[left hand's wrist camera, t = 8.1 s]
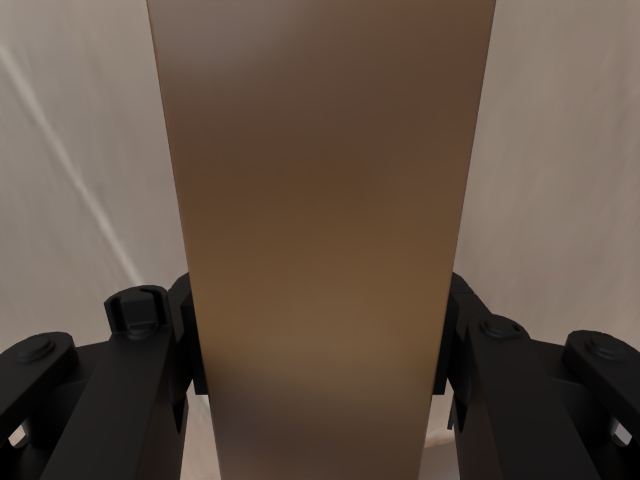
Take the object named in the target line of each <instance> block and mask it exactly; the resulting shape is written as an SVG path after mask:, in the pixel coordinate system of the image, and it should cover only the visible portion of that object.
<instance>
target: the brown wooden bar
mask: <svg viewBox="0 0 640 480" xmlns="http://www.w3.org/2000/svg"><path fill="white" fill-rule="evenodd" d="M146 1H147V8H148V14H149V21H150V27H151V33H152V40H153V46H154V53H155V59H156V65H157V72H158V78H159V85H160V91H161V97H162V104H163V110H164V117H165V123H166V129H167V136H168V142H169V149H170V155H171V161H172V168H173V174H174V180H175V187H176V193H177V200H178V206H179V212H180V219H181V225H182V232H183V238H184V244H185V251H186V257H187V264H188V270H189V276H190V283H191V289H192V296H193V302H194V308H195V315H196V321H197V328H198V334H199V340H200V347H201V353H202V360H203V366H204V372H205V379H206V385H207V392H208V398H209V404H210V411H211V417H212V424H213V430H214V436H215V443H216V449H217V456H218V462H219V468H220V475H221V480H419V475H420V469H421V463H422V456H423V450H424V444H425V438H426V432H427V425H428V419H429V413H430V407H431V401H432V395H433V388H434V382H435V376H436V370H437V364H438V357H439V351H440V345H441V339H442V333H443V326H444V320H445V314H446V308H447V302H448V295H449V289H450V283H451V277H452V271H453V264H454V258H455V252H456V246H457V240H458V233H459V227H460V221H461V215H462V209H463V203H464V196H465V190H466V184H467V178H468V172H469V165H470V159H471V153H472V147H473V141H474V134H475V128H476V122H477V116H478V110H479V103H480V97H481V91H482V85H483V79H484V72H485V66H486V60H487V54H488V48H489V42H490V35H491V29H492V23H493V17H494V11H495V4H496V0H146Z"/></svg>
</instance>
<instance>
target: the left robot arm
mask: <svg viewBox="0 0 640 480" xmlns="http://www.w3.org/2000/svg"><path fill="white" fill-rule="evenodd" d="M104 306H105V310H106V314H107V317H108V321H109V325H110V328H111V332H112V335H111V337H110V339H109V341H105V342H101V343H96V344H91V345H85V346H80V347H75V344H74V341H73V338H72V336H71V335H69V334H68V333H65V332H49V333H41V334H38V335H34V336H31V337H28V338H27V339H25V340H23V341H21V342H18V343H16V344H15V345H13V346H12V347H10V348H9V349H7V350H5V351H4V352H3V353H1V354H0V480H180V474H181V466H182V458H183V450H184V442H185V433H186V425H187V417H188V409H189V406H188V399H187V394H186V392H187V390H188V388H189V385H190V383H191V381H192V379H193V383H194V389H195V394H196V395H208V392H207V385H206V379H205V372H204V366H203V360H202V353H201V347H200V340H199V334H198V328H197V321H196V315H195V308H194V302H193V296H192V289H191V283H190V276H189V272H188V273H186V274H185V275H183V276H181V277H180V278H178V279H177V281H176V282H175V283H174V284H173V285H172V288H170V289H169V290H168V291H167V290H166V289H164V288H163V287H160V286H156V285H142V286H137V287H131V288H128V289H125V290H123V291H120V292H118V293H116V294H114V295H112V296H111V297H109V298H108V299H107V300H106V301H105V302H104ZM447 378H448V380H449V382H450V384H451V386H452V388H453V391H454V394H453V399H452V405H451V410H450V415H449V420H448V427H447V429H449V430H452V426H453V424H454V433H455V441H456V449H457V457H458V465H459V473H460V480H640V352H639V351H637V350H636V349H635V348H633V347H631V346H630V345H628V344H627V343H625V342H623V341H621V340H619V339H617V338H614V337H613V336H611V335H608V334H605V333H602V332H597V331H588V330H579V331H573V332H572V333H570V334H569V335H568V337H567V340H566V343H565V346H563V345H557V344H552V343H547V342H542V341H537V340H533V339H531V338H530V336H529V334H528V333H527V332H526V330H525V329H524V328H523V327H522V326H521V325H519V324H518V323H516V322H515V321H513V320H511V319H508V318H506V317H503V316H500V315H495V314H492V313H491V312H490V311H489V309H488V308H487V307H486V306H485V305H484V303H483V302H482V301H481V300H480V299H479V297H478V296H477V295H476V294H474V291H473V290H472V289H471V288H470V287H469V286H468V284H467V283H466V282H465V281H464V279H463V278H462V277H461V276H459V275H457V274H456V273H454V272H452V277H451V283H450V289H449V295H448V302H447V308H446V314H445V320H444V326H443V333H442V339H441V345H440V351H439V357H438V364H437V370H436V376H435V382H434V388H433V395H444V393H445V387H446V382H447ZM619 423H620V424H621V425H622V426H623V427H624V428H625V429H626V430H627V431H628V432H629V433H630V434H631V435H632V438H631V440H630V442H629V444H628V445H626V444H625V443H623V442H622V441H621V440H620V439H619V438H618V436H617V435H616V434H615V431H616V429H617V427H618V424H619ZM20 425H22V427H23V430H24V432H25V434H26V435H25V436H24V437H23V438H22V439H21V440H20V442H18V443H17V444H16V445H15V446H12V445H11V443H10V441H9V439H8V438H9V437H10V436H11V435H12V433H13V432H14V431H15V430H16V429H17V428H18V427H19V426H20Z"/></svg>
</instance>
